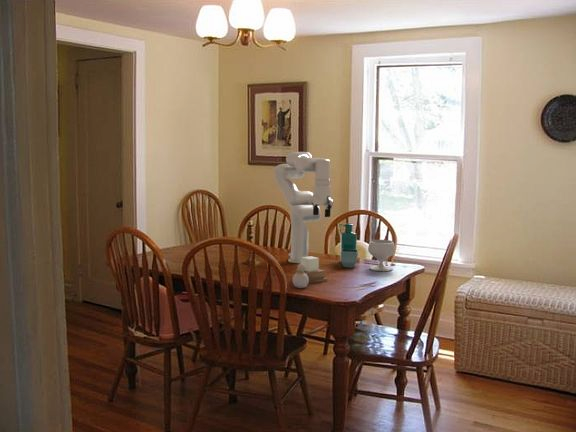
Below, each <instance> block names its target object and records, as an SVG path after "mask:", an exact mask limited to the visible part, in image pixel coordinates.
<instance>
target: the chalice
mask: <svg viewBox="0 0 576 432" xmlns="http://www.w3.org/2000/svg"><path fill="white" fill-rule="evenodd" d="M395 246H396V245H395V243H394V241H392V240H388V239H372V240H370V242H369V244H368V247H367V248H368V249H367V251H368V253H369V255H371V256H373V257H374V258H375V259H377V260H378V262H379V264H378V265H374V266H373V265H372V266H370V267H369V270H371V271H376V272H389V271H393V269H394V268H392V267H390V266H385V265H384V261H385V260H386V259H388V258H390V257H392V256H393V255H394V254H395V252H396V247H395Z"/></svg>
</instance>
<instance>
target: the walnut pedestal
mask: <svg viewBox="0 0 576 432" xmlns="http://www.w3.org/2000/svg"><path fill="white" fill-rule="evenodd" d="M294 270H295V273H294V275H295V274H296V273H297V271H298V268H295V269H294ZM304 273H305V274H307V276H308V278H309V282H308V285H309V284H316V283H323V282H328V278H326V277H325V270H324V269H320V268H319V270H318V271H310V272H308V271H305V270H304ZM291 278H292V279H293V276H292V277H291ZM292 279H291V280H292Z"/></svg>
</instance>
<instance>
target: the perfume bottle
mask: <svg viewBox="0 0 576 432" xmlns="http://www.w3.org/2000/svg"><path fill="white" fill-rule="evenodd" d="M296 269H298V271H297V273H296V274H295V273H294V274H293V276H292V277H293V279H291V281H292V284H293V286H294V287H296V288H297V289H304V288H306V287H307V286H308V285H309V284H308V282H309V278H308V276H307V274H305V273H304V270H305V265H304V264H302V263H301V262H300V263H298V265H297V268H296Z"/></svg>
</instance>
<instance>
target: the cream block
mask: <svg viewBox="0 0 576 432" xmlns="http://www.w3.org/2000/svg"><path fill="white" fill-rule="evenodd" d="M301 263H302V264H304V265H305V271H308V272H310V271H318V270H319V269H320V265H319V263H320V257H317V256H316V257H315V256H312V255H310V256H309V255H308V257H301Z"/></svg>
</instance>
